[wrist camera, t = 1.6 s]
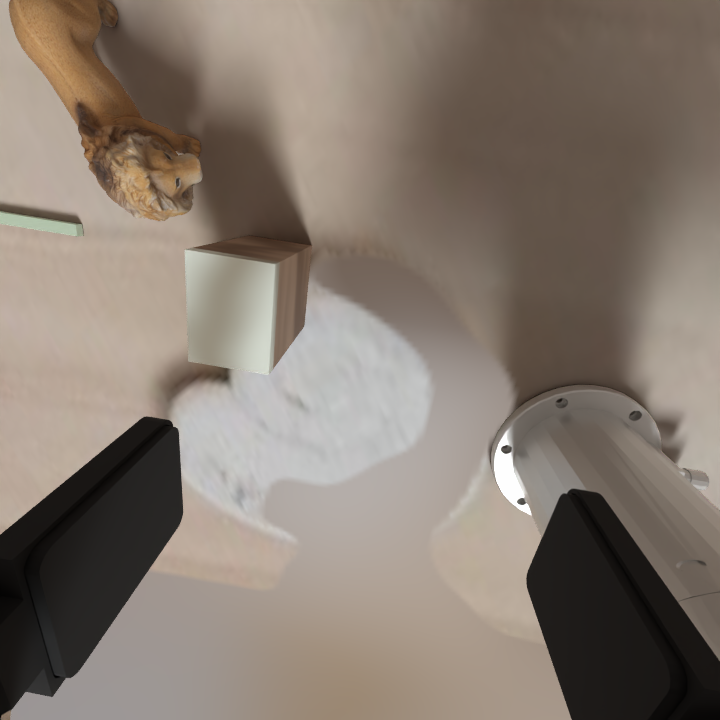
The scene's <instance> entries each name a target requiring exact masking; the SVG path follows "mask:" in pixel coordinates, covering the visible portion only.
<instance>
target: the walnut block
mask: <svg viewBox="0 0 720 720" xmlns="http://www.w3.org/2000/svg"><path fill="white" fill-rule="evenodd" d="M311 249H312V245H306V244H300V243H293V242H287V241H281V240H275V239H269V238H263V237H256V236H250V235H248V236H244V237H239V238H235V239H230V240H226V241H221V242H217V243H212V244H208V245H203V246H199V247H194V248H190V249H185V273H186V304H187V336H188V361H189V362H195V363H201V364H207V365H213V366H219V367H225V368H231V369H237V370H243V371H248V372H254V373H260V374H266V375H269V374H270V373H271V371H272V370H273V368H274V367H275V366H276V364H277V363H278V362H279V360H280V359H281V357H282V356H283V355H284V353H285V352H286V351H287V349H288V348H289V346H290V345H291V344H292V342H293V341H294V340H295V338H296V337H297V335H298V334H299V333H300V331H301V330H302V329H303V327H304V324H305V313H306V303H307V292H308V281H309V271H310V260H311Z"/></svg>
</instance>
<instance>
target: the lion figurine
mask: <svg viewBox="0 0 720 720" xmlns="http://www.w3.org/2000/svg"><path fill="white" fill-rule="evenodd" d="M9 12H10V18H11V22H12V25H13V28H14V31H15V34H16V37H17V39H18V41H19V43H20V45H21V47H22V48H23V50H24V51H25V52H26V54H27V55H28V56H29V58H30V59H31V60H32V61H33V62H34V63H35V64H36V65H37V66H38V68H39V69H40V70H41V71H42V72H43V74H44V75H45V76H46V78H47V79H48V81H49V82H50V83H51V85H52V86H53V88H54V90H55V91H56V93H57V94H58V96H59V97H60V99H61V100H62V102H63V103H64V105H65V107H66V108H67V110H68V112H69V113H70V115H71V116H72V118H73V119H74V121H75V122H76V124H77V125H78V131H79V133H80V135H81V136H82V142H81V144H82V146H83V147H84V148H85V153H84V156H85V158H86V159H87V160H88V162H89V163H90V164H89V169H90V170H91V171H92V172H93V174H94V175H95V176H96V178H97V180H98V183H99V184H100V186H101V187H102V188H103V189H104V190H105V191H106V193H107V195H108V196H109V197H110V198H111V199H112V200H113V201H114V202H116V203H118V204H119V205H120V206H121V207H123V208H124V209H125V210H126V211H128V212H129V213H131V214H132V215H133V216H134V217H135V218H141V217H143V218H148V219H153V220H157V221H160V220H162V221H165V220H166V219H168V218H169V217H173V216H177V215H183V214H185V213H187V212H189V211H190V210H191V208H192V205H193V203H192V200H193V185H194V184H196V183H199V182H200V181H201V180H202V176H203V174H202V171H201V164H200V161H199V159H198V158H197V157H199V154H200V152H201V147H200V142H199V141H198V140H196V139H194V138H191V137H188V136H186V135H182V134H175V133H173V132H172V131H171V130H169V129H168V128H165V127H162V126H160V125H158V124H155V123H153V122H150V121H147V120H144V119H142V117H141V115H140V113H139V111H138V110H137V108H136V106H135V105H134V103H133V101H132V100H131V98H130V97H129V95H128V94H127V93H126V91H125V90H124V88H123V87H122V85H121V84H120V83H119V81H118V80H117V79H116V77H115V76H114V75H113V74H112V73H111V72H110V70H109V69H108V68H107V67H106V66H105V65H104V64H103V63H102V62H101V61H100V60H99V59H98V58H97V57H96V55H95V54H94V51H93V49H92V46H93V43H94V41H95V39H96V38H97V36H98V34H99V32H100V29H101V22H102V23H103V24H105V25H106V26H112V27H114V26H115V25H116V22H117V21H118V13H117V10H116V9H115V7H114V6H113V5H112V4H111V3H110V2H109V1H107V0H11V1H10V3H9ZM176 151H177V152H178V153H183V155H179V156H178V154H177V153H176Z"/></svg>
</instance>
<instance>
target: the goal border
mask: <svg viewBox="0 0 720 720" xmlns="http://www.w3.org/2000/svg"><path fill="white" fill-rule="evenodd" d="M0 224H5V225H11V226H17V227H23V228H29V229H35V230H41V231H48V232H54V233H60V234H66V235H72V236H84V235H83V228H82V224H78V223H71V222H65V221H59V220H53V219H47V218H41V217H35V216H29V215H22V214H16V213H10V212H4V211H0Z"/></svg>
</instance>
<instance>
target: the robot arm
mask: <svg viewBox="0 0 720 720" xmlns="http://www.w3.org/2000/svg"><path fill="white" fill-rule="evenodd" d="M661 448H662V444H661V437H660V432H659V430H658V427H657V425H656V422H655V421H654V419H653V418H652V417H651V415H650V414H649V413H648V412H647V410H646V409H644V408H643V407H642V406H641V405H640V404H638V403H637V402H636V401H635V400H633V399H632V398H630V397H628V396H627V395H625V394H624V393H622V392H619V391H616V390H613V389H611V388H607V387H601V386H595V385H573V386H567V387H561V388H557V389H554V390H551V391H548V392H545V393H542V394H540V395H538V396H536V397H534V398H532V399H530V400H528V401H527V402H526V403H524V404H523V405H521V406H520V407H519V408H517V409H516V410H515V411H514V412H513V413H512V414H511V415H510V416H509V417H508V418H507V419H506V420H505V422H504V423H503V425H502V426H501V428H500V429H499V431H498V432H497V435H496V437H495V440H494V442H493V445H492V451H491V467H492V471H493V474H494V477H495V480H496V482H497V485H498V487H499V489H500V491H501V492H502V493H503V495H504V496H505V497H506V499H507V500H508V501H509V502H511V503H512V504H513V505H514V506H515V507H517V508H518V509H520V510H522V511H524V512H526V513H527V514H530V515H532V517H533V519H534V522H535V524H536V526H537V528H538V531H539V533H540V535H541V537H542V539H541V542H540V544H539V546H538V549H537V551H536V553H535V556H534V558H533V560H532V563H531V565H530V568H529V570H528V573H527V578H526V579H527V589H528V592H529V595H530V598H531V601H532V604H533V607H534V610H535V613H536V616H537V619H538V621H539V624H540V627H541V630H542V633H543V636H544V639H545V642H546V645H547V648H548V651H549V654H550V657H551V660H552V663H553V666H554V668H555V672H556V674H557V677H558V680H559V683H560V686H561V689H562V692H563V695H564V698H565V701H566V704H567V707H568V710H569V713H570V716H571V719H572V720H720V510H719V509H718V508H717V507H716V506H715V505H714V504H712V503H711V502H710V501H709V500H708V499H707V498H706V497H705V496H704V495H703V494H702V493H701V492H700V491H699V490H705V489H706V488H707V487H708V485H709V478H708V476H707V475H706V473H704V472H702V471H697V470H691V469H686V468H683V469H680V468H679V467H678V466H677V465H676V464H675V463H674V462H673V461H672V460H671V459H669V458H668V457H667V456H666V455H665V454H664V453H663V452H662V451H661ZM182 516H183V500H182V482H181V464H180V446H179V432H178V429H177V428H176V427H173V424H172V422H171V421H169V420H165V419H159V418H153V417H143V418H142V419H140V420H139V421H138V422H137V423H135V424H134V425H133V426H132V427H131V428H129V429H128V430H127V431H126V432H125V433H123V434H122V435H121V436H120V437H118V438H117V439H116V440H115V441H114V442H112V443H111V444H110V445H109V446H108V447H106V448H105V449H104V450H103V451H101V452H100V453H99V454H98V455H97V456H95V457H94V458H93V459H92V460H91V461H89V462H88V463H87V464H86V465H84V466H83V467H82V468H81V469H80V470H78V471H77V472H76V473H75V474H74V475H72V476H71V477H70V478H69V479H67V480H66V481H65V482H64V483H63V484H61V485H60V486H59V487H58V488H56V489H55V490H54V491H53V492H52V493H50V494H49V495H48V496H47V497H46V498H44V499H43V500H42V501H41V502H39V503H38V504H37V505H36V506H35V507H33V508H32V509H31V510H30V511H29V512H27V513H26V514H25V515H24V516H22V517H21V518H20V519H19V520H18V521H16V522H15V523H14V524H13V525H12V526H10V527H9V528H8V529H7V530H5V531H4V532H3V533H2V534H1V535H0V720H10V716H11V710H12V709H13V707H14V706H15V705H16V703H17V702H18V701H19V699H20V698H21V697H22V696H23V694H24V693H25V692H31V693H35V694H40V695H45V696H51V697H53V695H54V694H55V693H56V691H57V690H58V688H59V687H60V686H61V684H62V683H63V681H64V680H65V678H71V677H73V676H74V675H75V674H76V673H77V672H78V671H79V670H80V669H81V667H82V666H83V665H84V663H85V662H86V660H87V659H88V657H89V656H90V654H91V653H92V652H93V650H94V649H95V647H96V646H97V644H98V643H99V641H100V640H101V638H102V637H103V635H104V634H105V633H106V631H107V630H108V628H109V627H110V625H111V624H112V622H113V621H114V620H115V618H116V617H117V615H118V614H119V612H120V611H121V609H122V608H123V606H124V605H125V604H126V602H127V601H128V599H129V598H130V596H131V594H132V593H133V592H134V590H135V589H136V588H137V586H138V585H139V583H140V582H141V580H142V579H143V577H144V576H145V574H146V573H147V572H148V570H149V569H150V567H151V566H152V564H153V563H154V561H155V560H156V558H157V557H158V556H159V554H160V553H161V551H162V550H163V548H164V547H165V545H166V544H167V542H168V541H169V540H170V538H171V537H172V535H173V534H174V532H175V531H176V529H177V528H178V526H179V524H180V522H181V519H182Z"/></svg>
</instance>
